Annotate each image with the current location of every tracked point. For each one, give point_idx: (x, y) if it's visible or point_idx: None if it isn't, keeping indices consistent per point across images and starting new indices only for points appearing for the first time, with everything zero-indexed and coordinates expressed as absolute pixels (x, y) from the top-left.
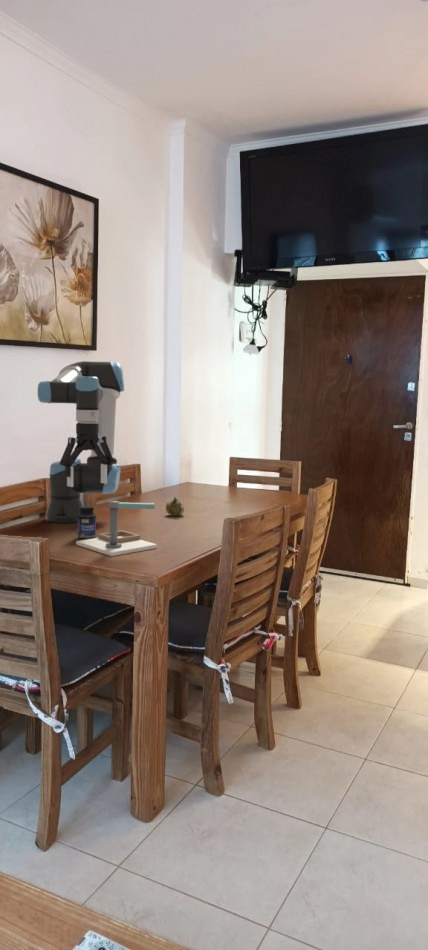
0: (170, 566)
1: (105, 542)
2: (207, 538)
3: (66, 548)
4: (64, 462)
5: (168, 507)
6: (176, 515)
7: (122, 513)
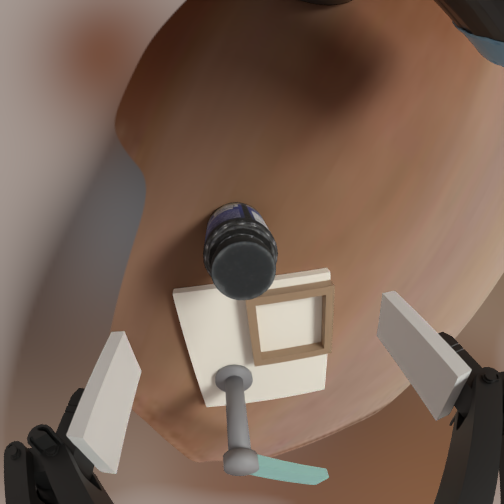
0: None
1: (237, 340)
2: None
3: (137, 310)
4: (42, 491)
5: None
6: None
7: None
